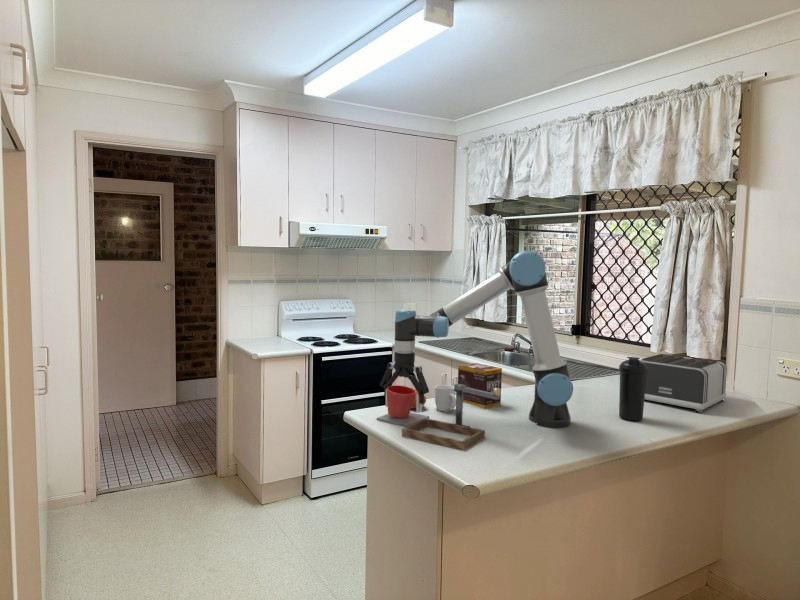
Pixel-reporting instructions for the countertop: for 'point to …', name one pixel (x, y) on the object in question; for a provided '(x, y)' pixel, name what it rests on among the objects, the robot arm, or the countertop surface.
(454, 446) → the wooden tray
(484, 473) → the countertop surface
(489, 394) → the bar
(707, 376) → the toaster
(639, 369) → the water bottle
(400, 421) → the plate
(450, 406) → the mug
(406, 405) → the flower pot
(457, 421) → the post
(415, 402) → the potato
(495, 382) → the supplement box
